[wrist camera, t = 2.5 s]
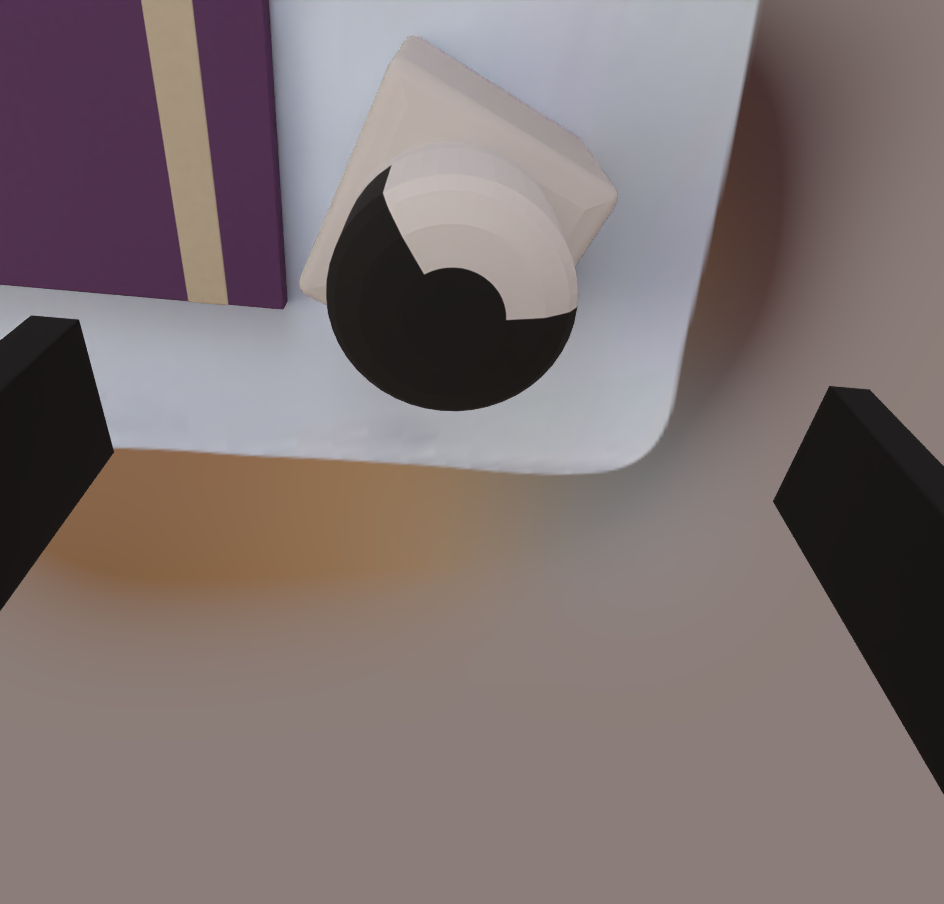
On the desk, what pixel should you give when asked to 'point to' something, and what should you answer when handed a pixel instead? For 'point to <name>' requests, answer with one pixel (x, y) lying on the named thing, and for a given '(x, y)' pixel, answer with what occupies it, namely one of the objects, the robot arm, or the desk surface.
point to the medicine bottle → (455, 237)
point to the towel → (141, 150)
